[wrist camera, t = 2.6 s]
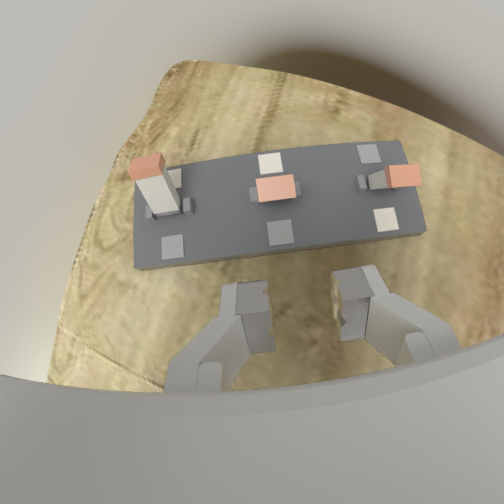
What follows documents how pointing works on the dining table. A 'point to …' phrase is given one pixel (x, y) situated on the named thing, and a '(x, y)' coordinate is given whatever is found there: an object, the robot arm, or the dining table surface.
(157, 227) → the switch panel
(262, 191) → the middle lever
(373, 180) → the lever
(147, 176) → the lever
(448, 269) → the dining table surface
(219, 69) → the dining table surface
